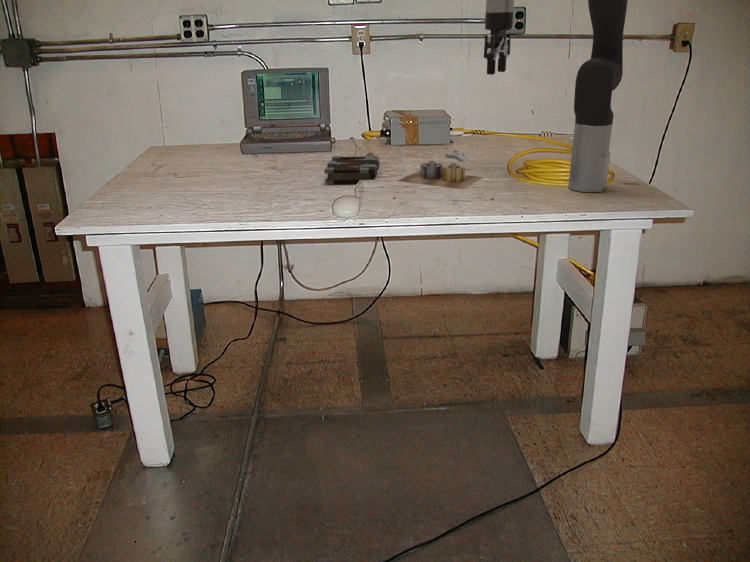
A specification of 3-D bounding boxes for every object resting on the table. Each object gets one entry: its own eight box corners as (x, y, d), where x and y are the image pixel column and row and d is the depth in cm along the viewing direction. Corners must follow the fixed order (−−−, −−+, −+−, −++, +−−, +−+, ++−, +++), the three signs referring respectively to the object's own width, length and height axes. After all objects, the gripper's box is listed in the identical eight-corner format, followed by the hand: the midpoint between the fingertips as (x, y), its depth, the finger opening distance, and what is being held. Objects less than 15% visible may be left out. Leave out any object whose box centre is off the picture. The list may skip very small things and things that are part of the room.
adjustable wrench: (481, 172, 188) (482, 166, 188) (461, 173, 188) (461, 167, 187) (461, 154, 211) (461, 149, 210) (443, 155, 210) (443, 150, 210)
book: (324, 185, 177) (323, 168, 175) (336, 165, 199) (335, 150, 197) (375, 185, 175) (375, 168, 173) (381, 165, 198) (381, 149, 196)
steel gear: (442, 174, 178) (443, 162, 177) (441, 179, 173) (442, 167, 171) (421, 174, 179) (421, 162, 178) (419, 179, 174) (419, 167, 172)
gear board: (483, 182, 175) (484, 161, 172) (463, 194, 164) (464, 172, 161) (419, 175, 184) (419, 154, 182) (397, 186, 173) (396, 164, 171)
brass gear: (468, 178, 174) (468, 165, 172) (459, 183, 169) (459, 170, 167) (448, 175, 176) (448, 163, 175) (438, 180, 172) (438, 168, 170)
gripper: (503, 10, 162) (500, 75, 169) (521, 10, 173) (517, 71, 180) (476, 11, 166) (474, 75, 172) (495, 10, 177) (492, 70, 183)
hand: (496, 73), depth 176 cm, fingers open, 8 cm apart
